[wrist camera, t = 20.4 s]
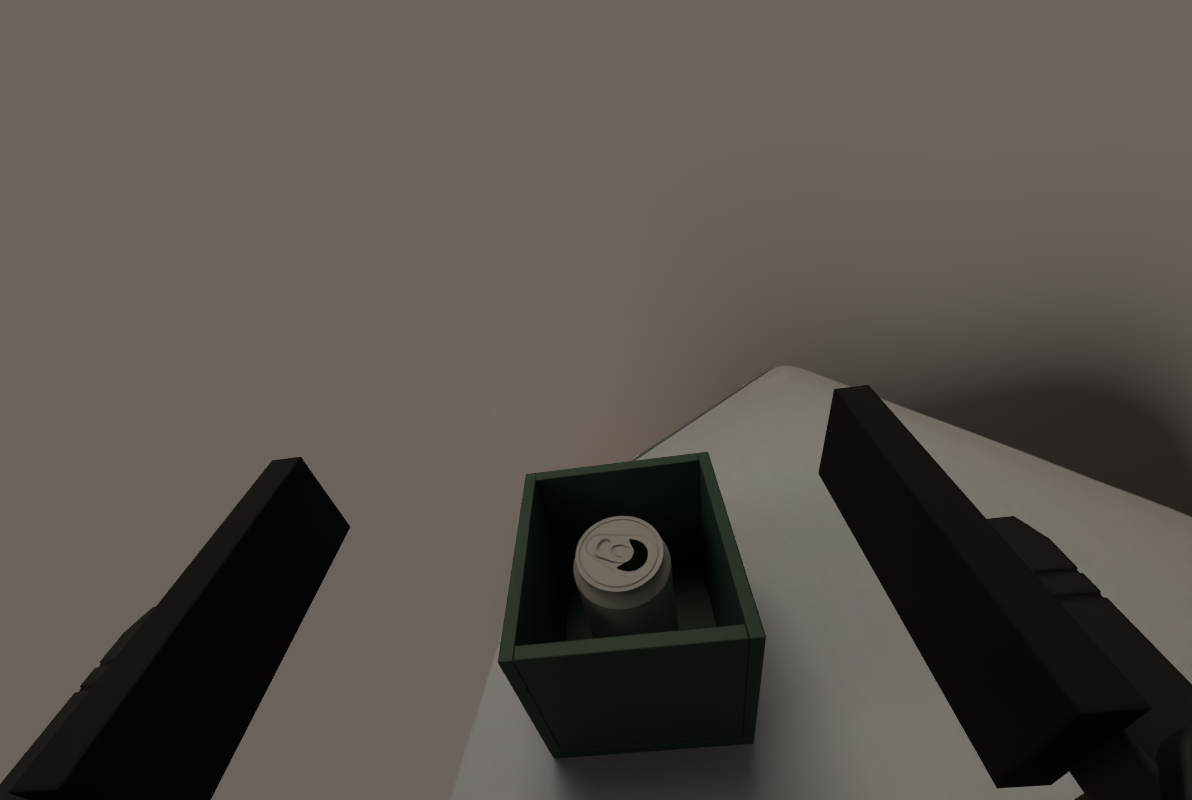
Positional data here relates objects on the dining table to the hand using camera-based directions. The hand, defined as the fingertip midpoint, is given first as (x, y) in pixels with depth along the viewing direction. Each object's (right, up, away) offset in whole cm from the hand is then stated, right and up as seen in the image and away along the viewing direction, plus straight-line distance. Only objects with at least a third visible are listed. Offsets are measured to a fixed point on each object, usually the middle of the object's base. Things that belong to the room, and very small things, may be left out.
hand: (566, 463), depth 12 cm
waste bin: (+4, -18, +25) cm, 31 cm away
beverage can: (+4, -18, +25) cm, 31 cm away
